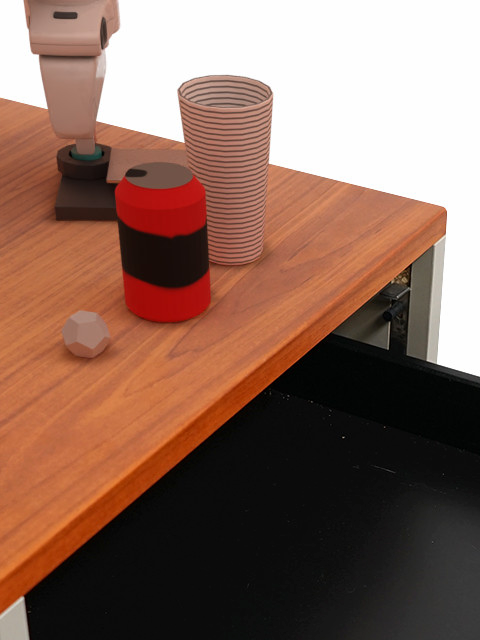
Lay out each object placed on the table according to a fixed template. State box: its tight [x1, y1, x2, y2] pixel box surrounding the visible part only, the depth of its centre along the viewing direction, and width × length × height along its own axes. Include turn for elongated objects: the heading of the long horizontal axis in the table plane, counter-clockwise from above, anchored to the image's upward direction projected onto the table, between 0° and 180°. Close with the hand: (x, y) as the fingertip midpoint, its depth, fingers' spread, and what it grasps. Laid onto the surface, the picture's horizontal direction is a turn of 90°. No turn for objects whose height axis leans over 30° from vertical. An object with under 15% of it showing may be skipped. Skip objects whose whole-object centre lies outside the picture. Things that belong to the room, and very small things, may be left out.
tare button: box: [71, 146, 102, 161], centre depth 143 cm, size 3×3×2 cm
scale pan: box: [106, 147, 188, 183], centre depth 140 cm, size 8×8×1 cm
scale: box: [54, 142, 119, 222], centre depth 141 cm, size 14×12×3 cm
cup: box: [176, 74, 274, 266], centre depth 129 cm, size 8×8×16 cm
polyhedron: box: [60, 309, 112, 359], centre depth 116 cm, size 4×4×3 cm
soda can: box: [115, 162, 212, 323], centre depth 121 cm, size 8×8×12 cm
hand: (87, 149), depth 142 cm, fingers closed, pressing on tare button
